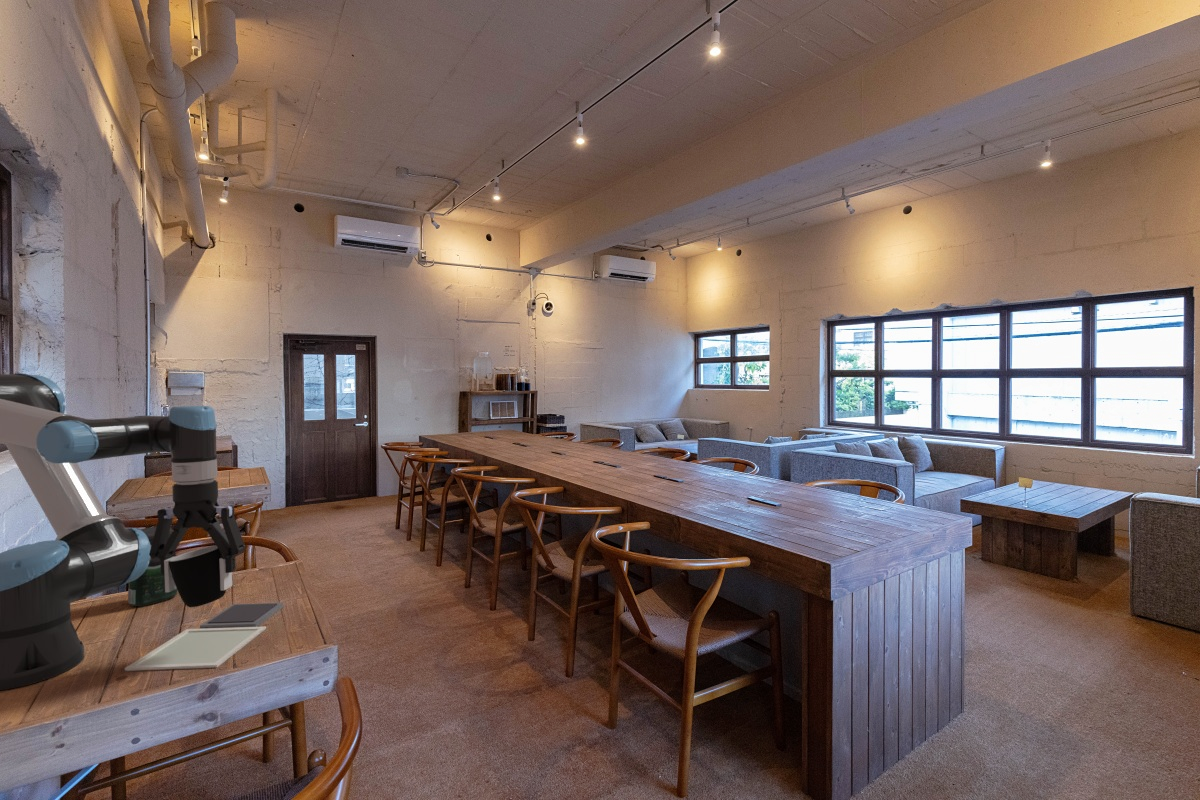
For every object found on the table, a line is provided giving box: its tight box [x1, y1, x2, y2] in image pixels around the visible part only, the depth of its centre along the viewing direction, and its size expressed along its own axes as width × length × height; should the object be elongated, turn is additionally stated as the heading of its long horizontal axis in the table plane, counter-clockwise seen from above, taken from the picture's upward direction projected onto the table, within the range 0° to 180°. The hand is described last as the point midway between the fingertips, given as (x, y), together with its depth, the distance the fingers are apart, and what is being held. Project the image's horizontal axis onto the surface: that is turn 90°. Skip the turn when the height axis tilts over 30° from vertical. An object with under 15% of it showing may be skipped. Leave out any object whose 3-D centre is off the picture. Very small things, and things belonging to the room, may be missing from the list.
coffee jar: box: [127, 525, 178, 607], centre depth 141 cm, size 10×8×19 cm
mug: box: [168, 544, 227, 608], centre depth 114 cm, size 12×9×10 cm
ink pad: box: [199, 602, 285, 629], centre depth 129 cm, size 12×12×1 cm
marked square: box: [124, 625, 267, 672], centre depth 114 cm, size 17×17×1 cm
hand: (199, 589), depth 114 cm, fingers closed on mug, 10 cm apart
